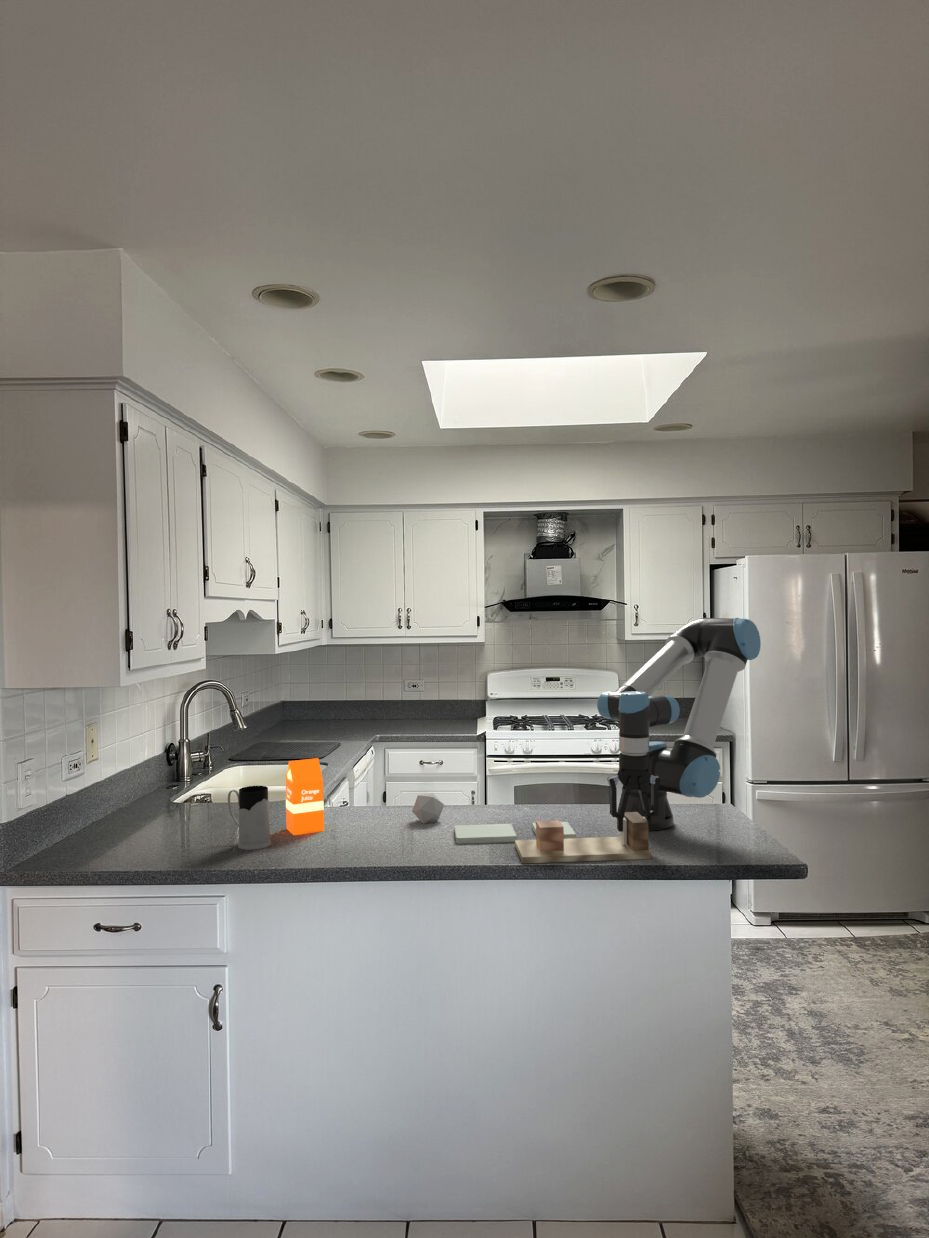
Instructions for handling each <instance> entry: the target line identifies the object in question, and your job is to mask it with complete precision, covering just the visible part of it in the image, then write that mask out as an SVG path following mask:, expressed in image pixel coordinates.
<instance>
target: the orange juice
mask: <svg viewBox="0 0 929 1238" xmlns="http://www.w3.org/2000/svg"><path fill="white" fill-rule="evenodd" d="M285 775H286V776H285V814H286V816H285V817H286V819H285V820H286V824H285V825H286V830H287V831H289V833H290V834H292V835H293V836H298V835H304V834H305V835H306V834H312V833H318V832H325V822H324V821H325V819H324V818H325V816H324V815H325V814H324V811H325V810H324V809H325V808H324V807H325V804H324V802H325V801H324V779H323V773H322V769H321V764H320V758H318V757H316V758H308V759H307V758H306V759H299V760H288V766H287V770H286V774H285Z"/></svg>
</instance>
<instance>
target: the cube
mask: <svg viewBox="0 0 929 1238" xmlns="http://www.w3.org/2000/svg"><path fill="white" fill-rule="evenodd" d="M561 822H562V821H560V820H559V819H558V820H557V819H556V820H553V819H552V820H535V823H536V834H535V840H536V845H537V847H538V849H539V850H540V851H564V827H563V825H562V824H561Z"/></svg>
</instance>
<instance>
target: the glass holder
mask: <svg viewBox="0 0 929 1238" xmlns="http://www.w3.org/2000/svg"><path fill="white" fill-rule="evenodd" d="M232 792H234V793H235V794H236V796H237V803H238V807H239V808H238V819H237V818H236V816H235V814H234V812H233V809H232V805H231V804H232V803H231V794H232ZM227 794H228V795H227V806H228V810H229V813H230V816H231V817H232V819H233V822H234V823H235V824H236V826H237V827H238V835H239V836H238V839H239V840H238V843H237V847H238V849H241V850H248V851H251V850H260V849H261V850H262V849H265V848H268V847H269V846H271V845H272V841H271V837H270V801H269V787H268V786H266V785H249V786H248V785H247V786H243V787H241V788H239V789H238V790H236V789H232V790H230V791H229V792H228V793H227Z"/></svg>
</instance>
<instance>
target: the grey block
mask: <svg viewBox="0 0 929 1238" xmlns="http://www.w3.org/2000/svg"><path fill="white" fill-rule="evenodd" d="M415 799H416V800H415V802H414V805H413V807H412V810H411V812H412V813H413V815H414V816H415V817H416V818H418V820H419V821H420V822H421V823H422V824H427V823H428V824H429V823H432V822H433V823H434V822H438V821H439V819H440V818H441V814H442V811H443V808H444V805H445V804H444V803H443V802H442V801H441V799H440V798H439V797H438V796H437V795H436V794H434V792H430V793H424V794H423V793H422V794H418V795H417V797H416V798H415Z"/></svg>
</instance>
